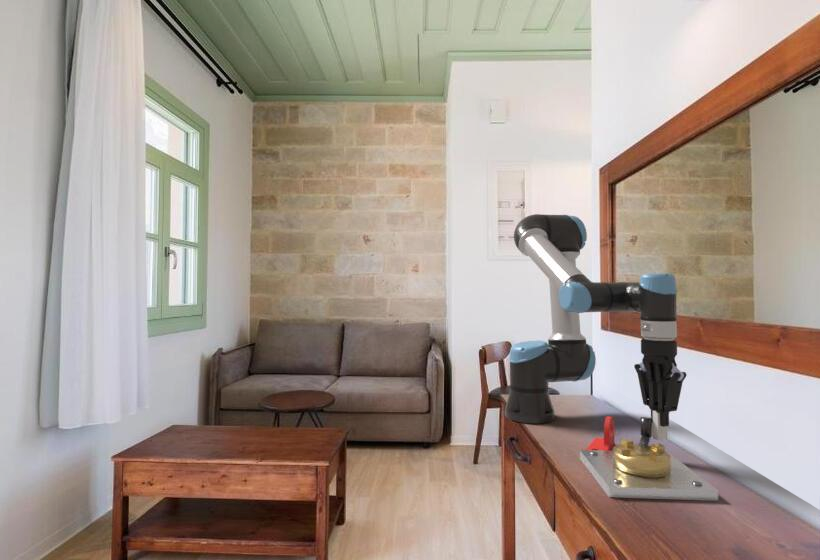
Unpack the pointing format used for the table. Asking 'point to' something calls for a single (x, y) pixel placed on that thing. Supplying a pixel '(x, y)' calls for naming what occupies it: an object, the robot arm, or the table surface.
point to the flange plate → (647, 480)
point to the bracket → (608, 437)
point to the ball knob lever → (642, 455)
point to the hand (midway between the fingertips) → (660, 438)
